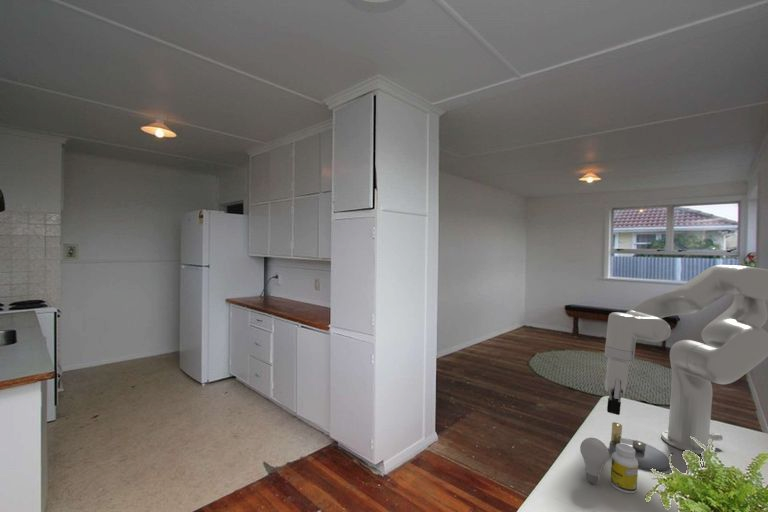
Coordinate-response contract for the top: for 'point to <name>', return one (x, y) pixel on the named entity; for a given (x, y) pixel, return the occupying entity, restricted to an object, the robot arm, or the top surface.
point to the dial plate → (647, 456)
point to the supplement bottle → (624, 468)
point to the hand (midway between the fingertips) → (613, 412)
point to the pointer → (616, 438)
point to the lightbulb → (594, 457)
